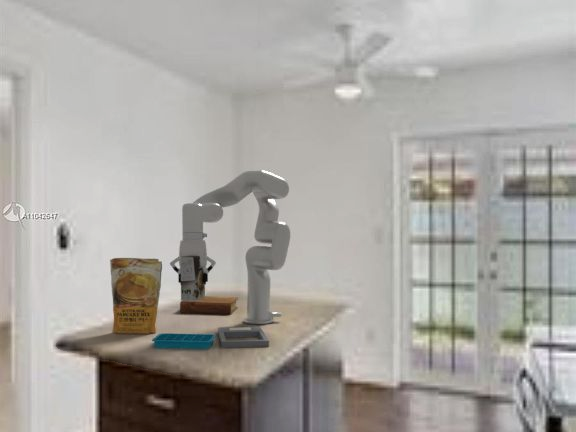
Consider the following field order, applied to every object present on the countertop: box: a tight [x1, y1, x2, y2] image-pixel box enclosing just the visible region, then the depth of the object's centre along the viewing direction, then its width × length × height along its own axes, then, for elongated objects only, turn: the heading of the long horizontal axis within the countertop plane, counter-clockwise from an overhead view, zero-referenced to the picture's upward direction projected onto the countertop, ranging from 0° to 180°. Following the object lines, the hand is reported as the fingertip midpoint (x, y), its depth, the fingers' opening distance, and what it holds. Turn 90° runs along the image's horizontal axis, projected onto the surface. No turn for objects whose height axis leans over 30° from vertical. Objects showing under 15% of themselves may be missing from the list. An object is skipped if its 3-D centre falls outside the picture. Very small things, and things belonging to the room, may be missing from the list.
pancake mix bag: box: [109, 257, 163, 335], centre depth 221 cm, size 7×19×28 cm, turn 91°
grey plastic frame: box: [217, 326, 270, 349], centre depth 211 cm, size 16×24×2 cm, turn 10°
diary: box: [179, 295, 239, 316], centre depth 270 cm, size 23×19×6 cm
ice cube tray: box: [151, 332, 217, 350], centre depth 201 cm, size 12×20×3 cm, turn 88°
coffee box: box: [180, 256, 206, 302], centre depth 216 cm, size 9×6×16 cm
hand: (193, 284), depth 216 cm, fingers closed on coffee box, 8 cm apart
